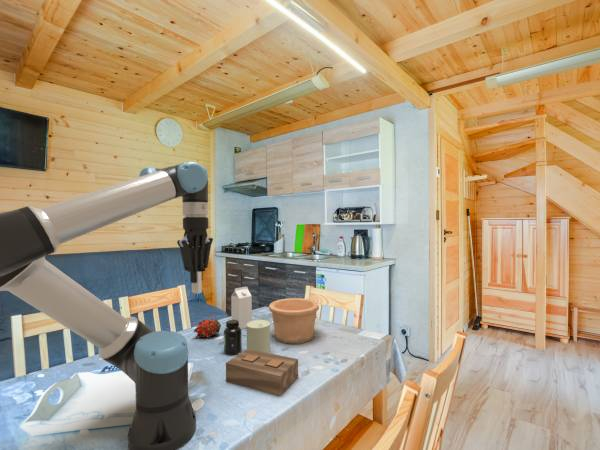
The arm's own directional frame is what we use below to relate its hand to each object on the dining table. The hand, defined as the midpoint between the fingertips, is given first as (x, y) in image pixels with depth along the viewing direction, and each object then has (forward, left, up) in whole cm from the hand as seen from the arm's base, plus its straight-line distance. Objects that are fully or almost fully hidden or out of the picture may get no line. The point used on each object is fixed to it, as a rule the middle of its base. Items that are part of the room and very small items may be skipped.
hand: (196, 292), depth 97 cm
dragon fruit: (+33, +26, -30) cm, 51 cm away
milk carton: (+50, +20, -30) cm, 61 cm away
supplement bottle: (+25, +6, -30) cm, 39 cm away
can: (+28, -4, -30) cm, 41 cm away
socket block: (+12, -16, -29) cm, 36 cm away
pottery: (+49, -9, -30) cm, 58 cm away
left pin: (+12, -12, -29) cm, 34 cm away
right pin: (+12, -21, -29) cm, 38 cm away
